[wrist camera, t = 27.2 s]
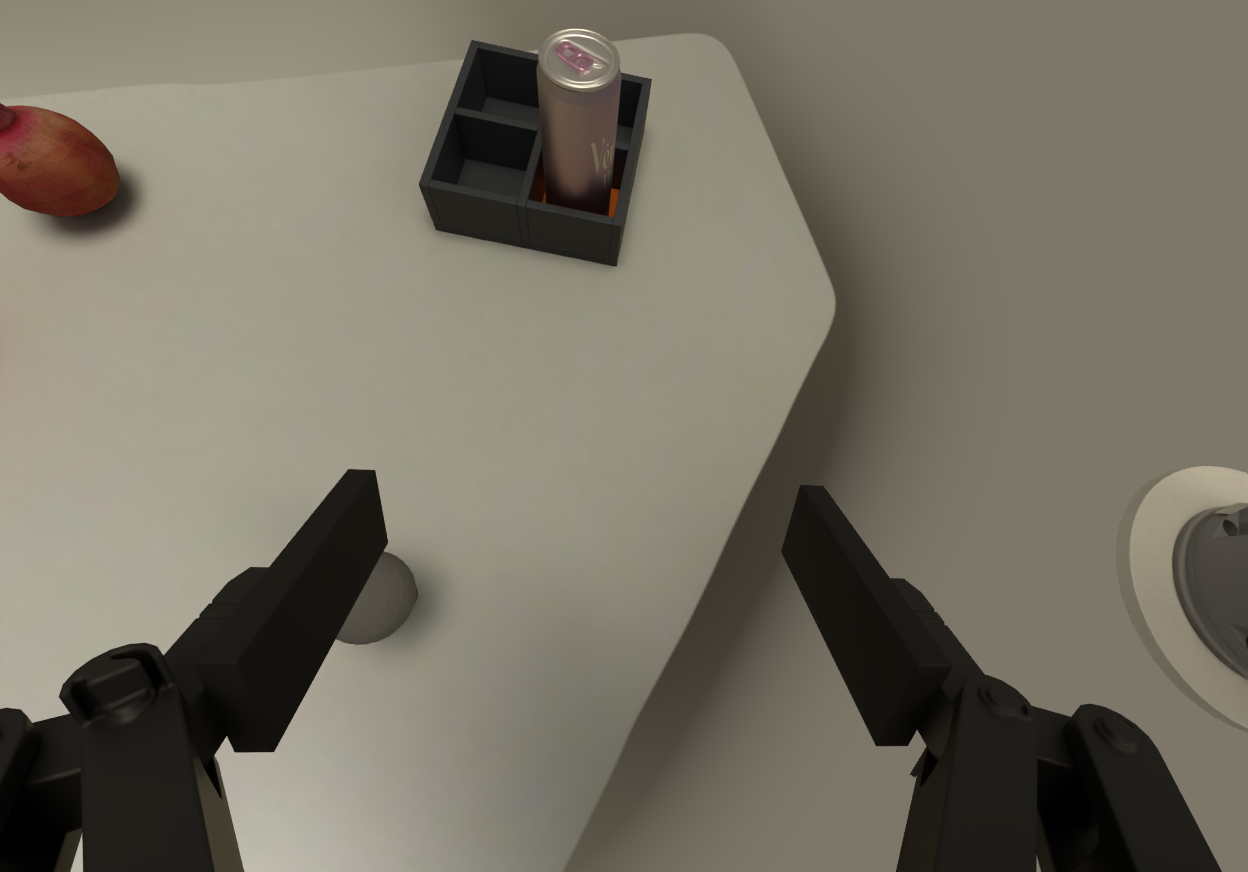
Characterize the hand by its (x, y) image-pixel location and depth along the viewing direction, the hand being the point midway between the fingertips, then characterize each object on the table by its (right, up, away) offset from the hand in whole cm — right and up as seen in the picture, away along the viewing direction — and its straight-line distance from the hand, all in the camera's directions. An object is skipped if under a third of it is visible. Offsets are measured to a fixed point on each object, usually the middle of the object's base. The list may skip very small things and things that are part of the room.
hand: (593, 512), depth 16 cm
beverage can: (-4, +24, +33) cm, 41 cm away
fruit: (-46, +23, +29) cm, 60 cm away
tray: (-7, +28, +35) cm, 45 cm away
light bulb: (-16, -10, +22) cm, 29 cm away
